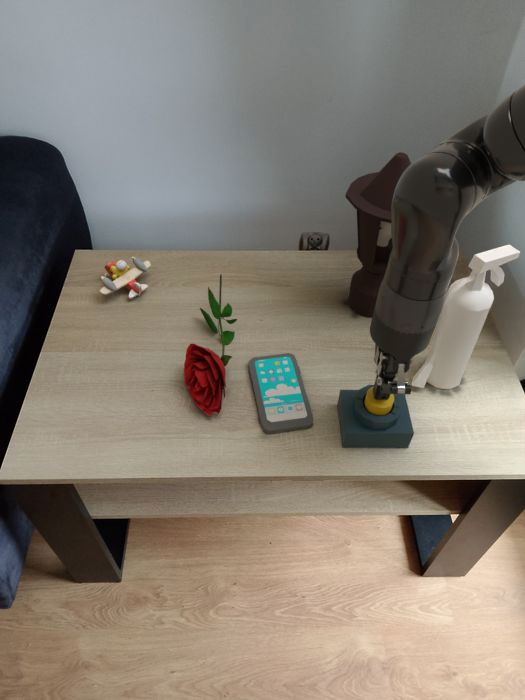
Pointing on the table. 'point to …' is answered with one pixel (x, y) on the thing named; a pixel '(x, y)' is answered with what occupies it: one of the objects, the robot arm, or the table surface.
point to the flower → (209, 362)
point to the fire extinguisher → (462, 320)
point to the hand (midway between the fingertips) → (380, 395)
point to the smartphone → (280, 393)
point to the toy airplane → (124, 277)
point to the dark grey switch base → (373, 422)
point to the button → (378, 404)
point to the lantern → (373, 231)
